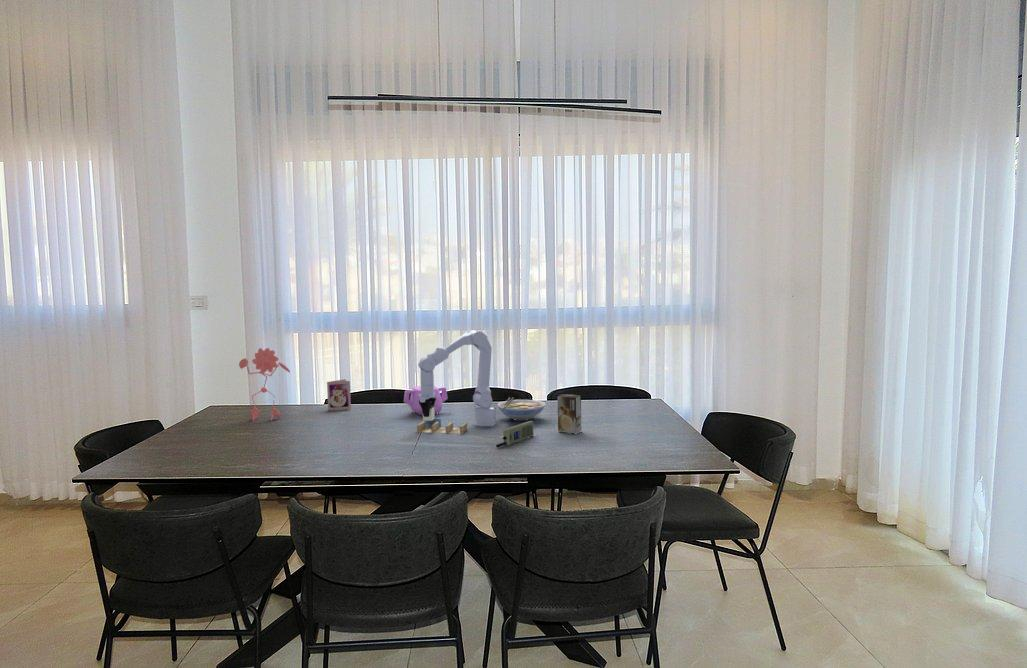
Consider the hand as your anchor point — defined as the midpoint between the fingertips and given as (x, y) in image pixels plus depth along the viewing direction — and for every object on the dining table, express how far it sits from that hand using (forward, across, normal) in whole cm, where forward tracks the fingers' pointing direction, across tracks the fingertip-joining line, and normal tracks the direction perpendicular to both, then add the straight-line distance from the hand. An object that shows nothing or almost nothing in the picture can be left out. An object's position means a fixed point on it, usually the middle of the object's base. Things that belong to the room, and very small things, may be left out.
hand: (427, 415), depth 283 cm
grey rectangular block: (+2, 0, 0) cm, 2 cm away
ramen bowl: (+8, -31, +36) cm, 48 cm away
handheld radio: (+8, +11, +41) cm, 43 cm away
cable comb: (+8, -2, +6) cm, 10 cm away
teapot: (+8, -39, -14) cm, 42 cm away
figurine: (+8, -18, -88) cm, 90 cm away
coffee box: (+8, -9, +61) cm, 63 cm away
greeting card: (+8, -44, -63) cm, 77 cm away
